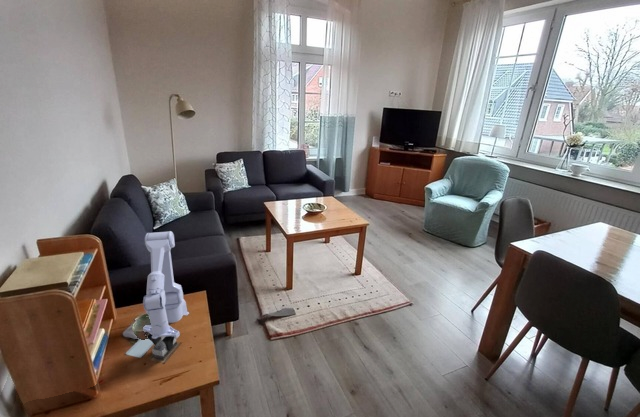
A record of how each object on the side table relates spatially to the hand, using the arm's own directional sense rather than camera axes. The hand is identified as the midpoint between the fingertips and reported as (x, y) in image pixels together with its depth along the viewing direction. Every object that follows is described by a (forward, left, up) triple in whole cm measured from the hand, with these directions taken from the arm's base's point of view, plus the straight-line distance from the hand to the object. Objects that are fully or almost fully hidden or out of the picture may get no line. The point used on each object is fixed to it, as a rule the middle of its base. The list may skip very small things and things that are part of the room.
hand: (164, 347), depth 120 cm
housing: (0, 0, -2) cm, 2 cm away
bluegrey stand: (0, -11, -3) cm, 11 cm away
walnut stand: (0, 0, -3) cm, 3 cm away
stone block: (-8, -19, -4) cm, 21 cm away
